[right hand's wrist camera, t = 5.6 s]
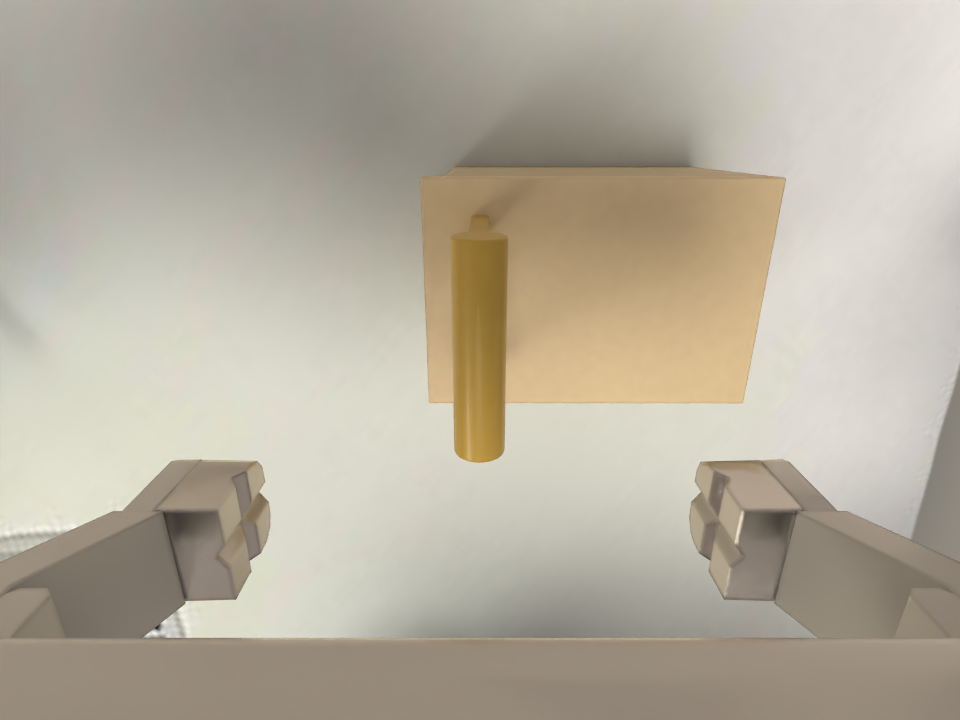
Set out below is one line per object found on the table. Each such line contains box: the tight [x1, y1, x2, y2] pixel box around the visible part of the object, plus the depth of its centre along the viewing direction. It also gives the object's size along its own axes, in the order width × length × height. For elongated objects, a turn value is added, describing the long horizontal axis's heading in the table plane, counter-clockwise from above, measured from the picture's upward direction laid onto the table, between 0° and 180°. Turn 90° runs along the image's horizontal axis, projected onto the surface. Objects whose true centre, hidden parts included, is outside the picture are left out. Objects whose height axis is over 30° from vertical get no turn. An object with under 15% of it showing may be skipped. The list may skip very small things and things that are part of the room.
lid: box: [421, 176, 786, 462], centre depth 21 cm, size 14×10×8 cm
